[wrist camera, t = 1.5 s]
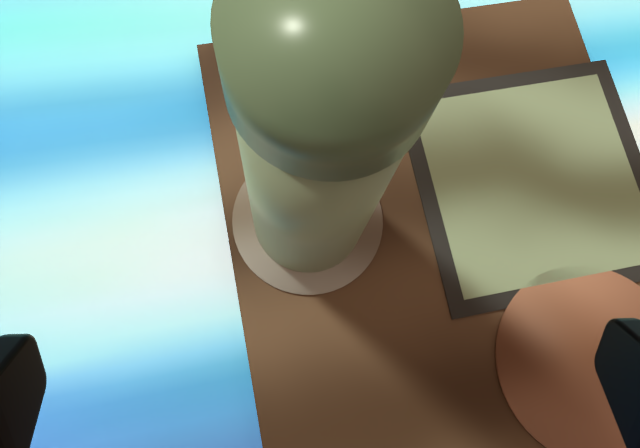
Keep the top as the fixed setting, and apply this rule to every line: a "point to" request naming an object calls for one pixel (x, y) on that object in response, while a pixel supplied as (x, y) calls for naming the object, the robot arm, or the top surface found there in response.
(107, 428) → the top surface
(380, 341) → the picture board
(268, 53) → the ball
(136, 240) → the top surface
